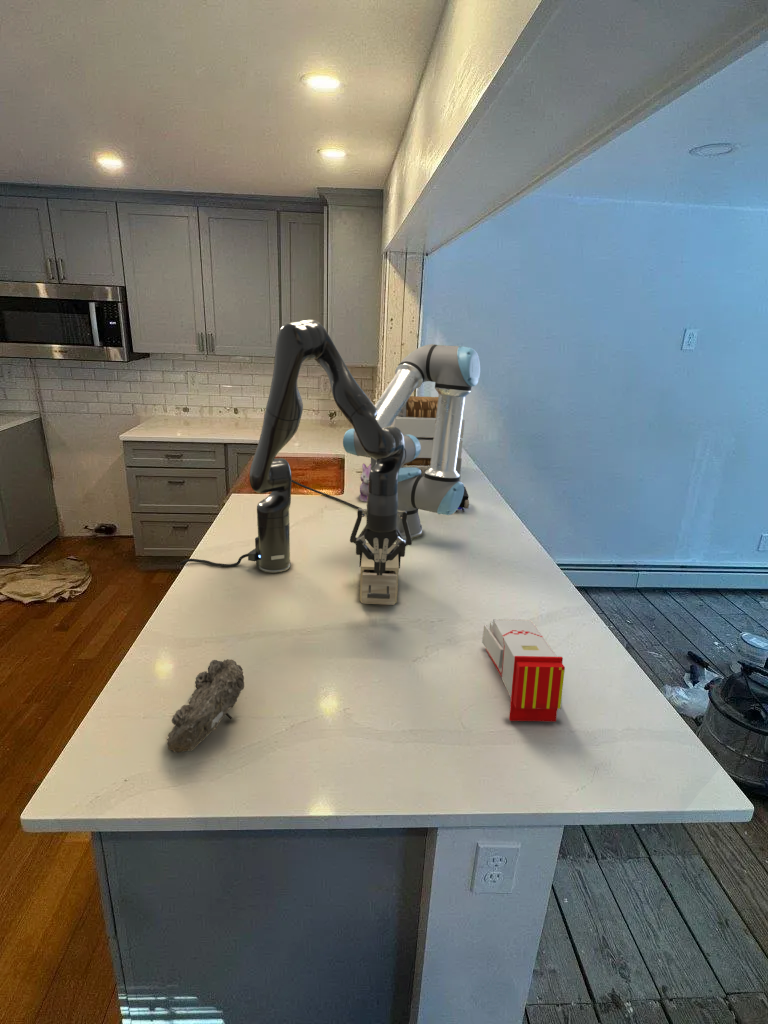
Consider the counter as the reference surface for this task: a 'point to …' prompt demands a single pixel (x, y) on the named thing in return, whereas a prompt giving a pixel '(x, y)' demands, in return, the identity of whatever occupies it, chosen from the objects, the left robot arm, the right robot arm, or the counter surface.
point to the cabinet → (390, 566)
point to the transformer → (422, 428)
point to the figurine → (364, 483)
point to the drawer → (378, 587)
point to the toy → (526, 669)
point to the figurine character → (464, 501)
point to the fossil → (206, 705)
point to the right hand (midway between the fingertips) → (379, 565)
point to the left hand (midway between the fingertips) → (379, 574)
